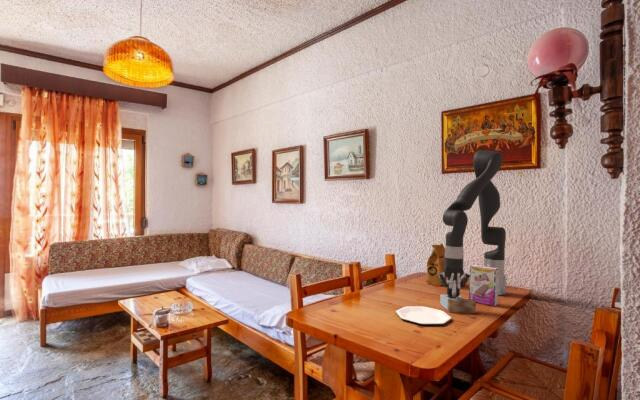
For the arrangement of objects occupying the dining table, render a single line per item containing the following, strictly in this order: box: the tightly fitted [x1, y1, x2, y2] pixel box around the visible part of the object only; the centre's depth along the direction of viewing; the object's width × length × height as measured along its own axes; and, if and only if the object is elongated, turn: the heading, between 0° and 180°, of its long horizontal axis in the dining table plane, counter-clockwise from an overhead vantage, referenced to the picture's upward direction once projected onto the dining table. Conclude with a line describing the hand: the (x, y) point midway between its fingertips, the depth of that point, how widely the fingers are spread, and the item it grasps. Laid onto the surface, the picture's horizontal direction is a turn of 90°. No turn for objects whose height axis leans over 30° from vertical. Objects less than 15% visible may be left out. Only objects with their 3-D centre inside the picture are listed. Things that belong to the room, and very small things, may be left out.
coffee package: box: [425, 242, 447, 287], centre depth 190 cm, size 10×12×22 cm
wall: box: [447, 298, 477, 314], centre depth 143 cm, size 11×2×5 cm, turn 92°
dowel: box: [450, 280, 457, 299], centre depth 147 cm, size 3×3×10 cm
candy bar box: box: [468, 264, 499, 307], centre depth 155 cm, size 11×5×16 cm, turn 47°
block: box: [439, 293, 465, 311], centre depth 147 cm, size 8×8×4 cm
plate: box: [395, 305, 452, 326], centre depth 135 cm, size 20×20×2 cm
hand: (453, 296), depth 147 cm, fingers closed on dowel, 2 cm apart
